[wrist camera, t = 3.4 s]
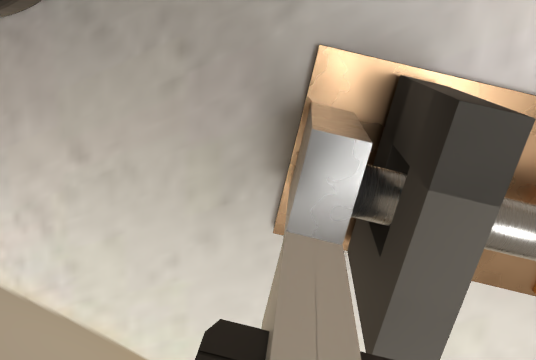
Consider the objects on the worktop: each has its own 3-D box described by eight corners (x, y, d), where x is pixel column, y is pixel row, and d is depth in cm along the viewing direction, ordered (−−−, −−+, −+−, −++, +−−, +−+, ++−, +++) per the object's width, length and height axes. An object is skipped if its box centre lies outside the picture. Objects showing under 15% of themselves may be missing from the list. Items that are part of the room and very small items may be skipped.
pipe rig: (274, 226, 29) (260, 302, 21) (319, 44, 26) (324, 49, 18) (642, 315, 29) (777, 428, 21) (734, 142, 26) (939, 194, 18)
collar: (347, 249, 27) (368, 364, 18) (400, 74, 24) (459, 100, 15) (388, 259, 27) (431, 380, 18) (446, 85, 24) (535, 118, 15)
